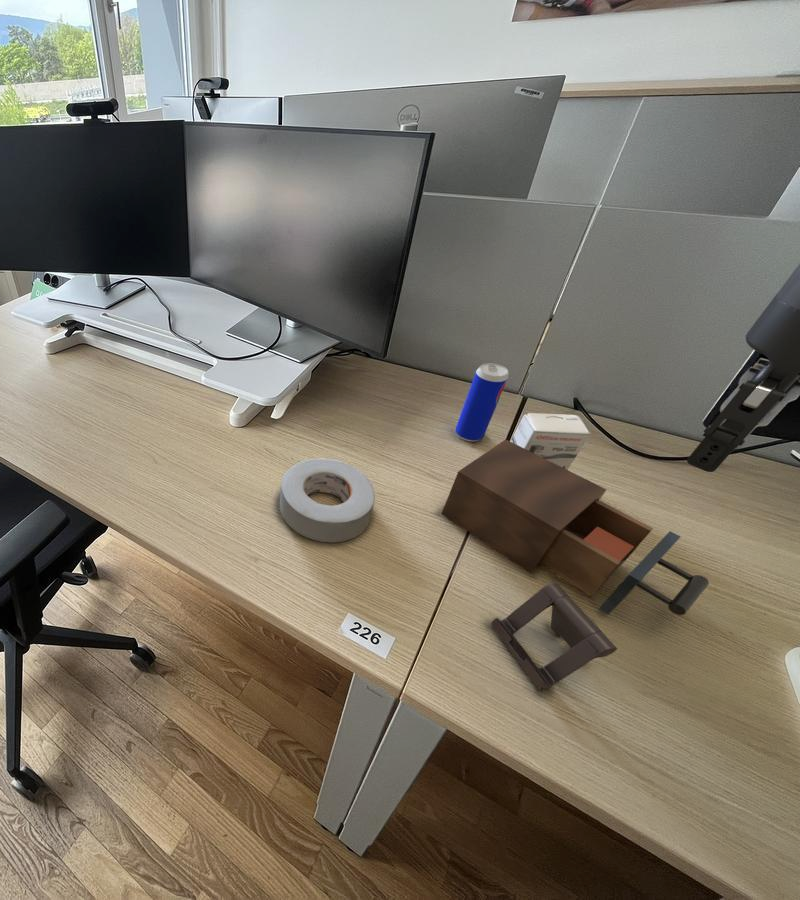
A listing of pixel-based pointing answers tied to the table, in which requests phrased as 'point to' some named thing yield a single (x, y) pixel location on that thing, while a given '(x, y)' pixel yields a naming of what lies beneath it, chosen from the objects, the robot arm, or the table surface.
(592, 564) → the drawer
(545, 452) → the ink box
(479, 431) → the beverage can
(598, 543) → the block
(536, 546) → the cabinet
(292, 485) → the tape roll
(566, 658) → the tablet stand
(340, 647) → the table surface
